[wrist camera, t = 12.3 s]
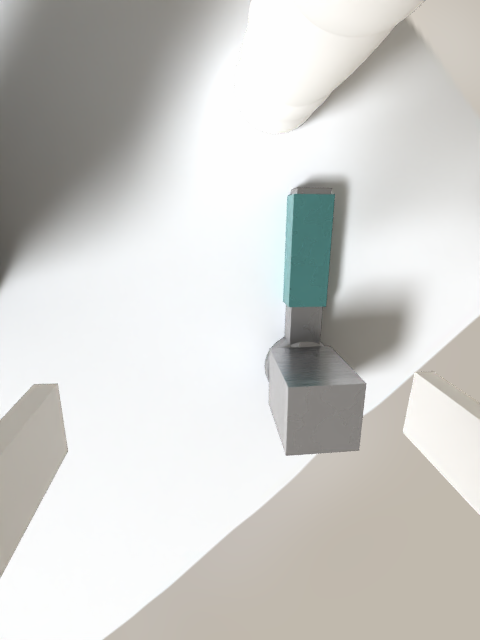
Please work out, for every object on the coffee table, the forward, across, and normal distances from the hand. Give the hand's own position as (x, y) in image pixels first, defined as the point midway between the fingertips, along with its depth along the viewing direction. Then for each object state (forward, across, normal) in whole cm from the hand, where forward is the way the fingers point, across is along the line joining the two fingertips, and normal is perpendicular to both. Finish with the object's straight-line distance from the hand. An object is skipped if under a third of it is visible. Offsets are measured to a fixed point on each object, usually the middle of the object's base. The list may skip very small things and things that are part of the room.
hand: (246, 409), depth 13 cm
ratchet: (+21, +9, -2) cm, 23 cm away
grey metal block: (+19, +8, -8) cm, 22 cm away
